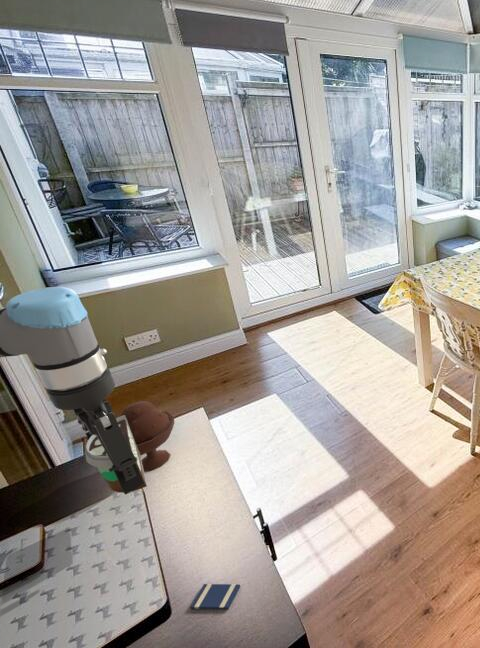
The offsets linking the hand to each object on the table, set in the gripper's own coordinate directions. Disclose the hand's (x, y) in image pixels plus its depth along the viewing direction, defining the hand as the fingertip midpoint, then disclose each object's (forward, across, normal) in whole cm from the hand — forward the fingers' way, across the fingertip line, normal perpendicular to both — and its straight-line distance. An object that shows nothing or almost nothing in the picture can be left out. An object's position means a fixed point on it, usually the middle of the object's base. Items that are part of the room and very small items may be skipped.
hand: (120, 471), depth 77 cm
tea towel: (+11, -28, -1) cm, 30 cm away
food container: (+3, +1, 0) cm, 3 cm away
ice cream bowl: (+12, +12, -7) cm, 18 cm away
